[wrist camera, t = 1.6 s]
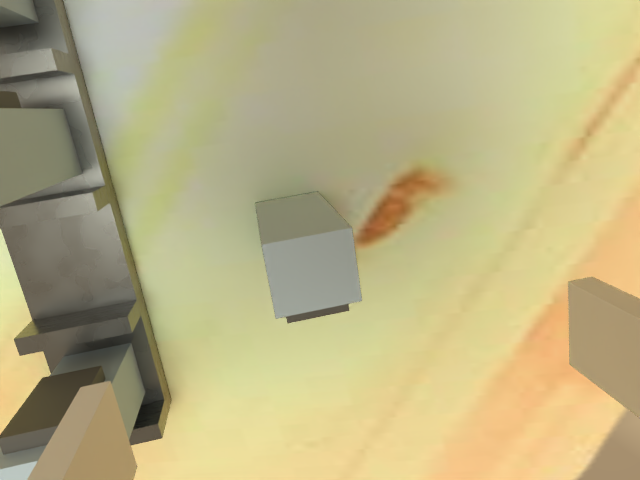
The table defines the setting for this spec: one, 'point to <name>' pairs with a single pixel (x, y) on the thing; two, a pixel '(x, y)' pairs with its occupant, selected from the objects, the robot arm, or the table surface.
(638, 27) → the table surface
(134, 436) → the rail
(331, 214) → the block
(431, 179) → the table surface
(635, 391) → the robot arm
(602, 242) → the table surface
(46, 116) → the fitted fingers
